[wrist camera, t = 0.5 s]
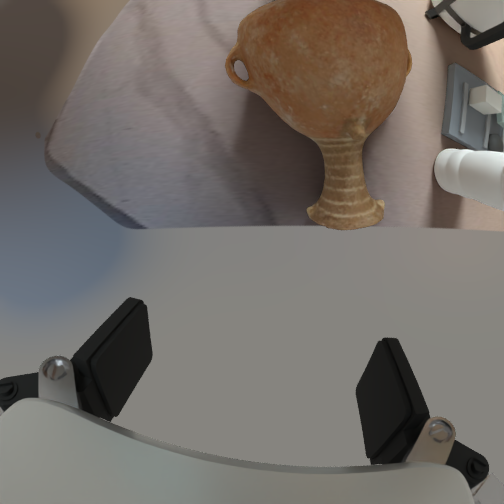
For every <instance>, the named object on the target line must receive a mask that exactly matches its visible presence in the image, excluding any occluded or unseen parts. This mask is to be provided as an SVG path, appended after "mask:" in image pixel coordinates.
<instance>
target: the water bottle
mask: <svg viewBox="0 0 504 504" xmlns="http://www.w3.org/2000/svg"><path fill="white" fill-rule="evenodd" d="M434 172H435V177H436V180H437V182H438V184H439V185H440V186H441V188H442V189H444V190H445V191H447V192H450V193H453V194H459V195H460V196H463V197H465V198H470V199H474V200H476V201H478V202H480V203H483V204H485V205H488V206H491V207H493V208H496V209H499V210H502V211H504V153H503V152H495V151H473V150H468V149H462V150H459V149H445V150H443V151H441V152H440V153H439V155H438V156H437V158H436V161H435V166H434Z"/></svg>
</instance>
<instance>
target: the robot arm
mask: <svg viewBox="0 0 504 504" xmlns="http://www.w3.org/2000/svg"><path fill="white" fill-rule="evenodd" d="M151 360H152V346H151V339H150V330H149V322H148V312H147V306H146V305H145V304H144V302H143V301H142V300H140V299H135V298H131V297H130V298H128V299H127V300H126V301H125V302H124V303H123V304H122V305H121V306H120V307H119V308H118V309H117V310H116V311H115V312H114V313H113V314H112V315H111V316H110V317H109V318H108V319H107V320H106V321H105V322H104V323H103V324H102V325H101V326H100V327H99V328H98V329H97V330H96V331H95V333H94V334H93V335H92V336H91V337H90V338H89V339H88V340H87V341H86V342H85V343H84V344H83V345H82V346H81V347H80V349H79V350H78V351H77V352H76V353H75V354H74V355H73V358H72V359H71V360H69V359H67V358H66V357H63V356H52V357H49V358H47V359H46V360H44V361H43V362H42V364H41V365H40V367H39V372H37V373H32V374H25V375H19V376H13V377H6V378H3V379H1V380H0V504H504V485H503V484H502V483H501V482H500V481H499V479H498V478H497V477H496V476H495V475H494V474H493V473H491V474H490V475H489V474H488V472H489V464H488V462H487V460H486V459H485V457H484V456H482V455H481V454H479V453H477V452H475V451H474V450H472V449H470V448H468V447H467V446H465V445H463V444H461V443H460V442H458V441H456V440H455V437H456V431H455V428H454V426H453V424H452V423H451V422H450V421H449V420H447V419H446V418H443V417H438V416H436V417H432V418H430V415H429V410H428V407H427V405H426V402H425V400H424V397H423V395H422V392H421V390H420V387H419V385H418V383H417V380H416V378H415V376H414V374H413V371H412V369H411V367H410V364H409V362H408V360H407V358H406V356H405V353H404V351H403V349H402V347H401V345H400V343H399V341H398V339H396V338H383V339H382V341H378V343H377V345H376V347H375V349H374V352H373V354H372V356H371V358H370V360H369V362H368V365H367V367H366V369H365V371H364V373H363V375H362V377H361V379H360V381H359V383H358V385H357V387H356V398H357V403H358V408H359V414H360V419H361V425H362V431H363V437H364V444H365V450H366V456H367V458H370V462H371V466H350V467H305V466H288V465H277V464H267V463H259V462H251V461H244V460H238V459H233V458H227V457H222V456H217V455H212V454H207V453H203V452H199V451H195V450H191V449H187V448H183V447H180V446H176V445H172V444H169V443H166V442H162V441H159V440H156V439H153V438H150V437H147V436H144V435H142V434H139V433H136V432H133V431H131V430H128V429H125V428H123V427H120V426H118V425H115V424H113V423H110V422H111V420H112V418H113V417H114V416H115V417H117V416H118V415H119V413H120V412H121V410H122V408H123V406H124V405H125V403H126V401H127V400H128V398H129V396H130V395H131V393H132V391H133V390H134V388H135V386H136V385H137V383H138V382H139V380H140V378H141V377H142V375H143V373H144V371H145V370H146V368H147V367H148V365H149V364H150V362H151ZM101 418H103V419H105V420H107V421H105V420H103V419H101ZM108 421H110V422H108ZM375 464H382V465H375Z"/></svg>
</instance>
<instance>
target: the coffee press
mask: <svg viewBox="0 0 504 504" xmlns="http://www.w3.org/2000/svg"><path fill="white" fill-rule="evenodd" d="M431 1H432V3H433V6H434V8H433V9H430V10H428V11H426V12H425V13H426V15H427V16H428V18H429V19H434V18H437V17H440V16H441V18H442V19H443V20H444V21H445V22H446V23H447V24H448V25H449V26H450V27H452V28H453V29H454V30H455V31H457V32H458V33H460V34H461V42H462V43H463V44H464V45H465V46H466V47H467V48H469V49H471V50H474V49H478V48H481V47H483V46H486V45H488V44H490V43H493V42H495V41H498V40H500V39H502V38H504V0H431Z"/></svg>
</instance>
